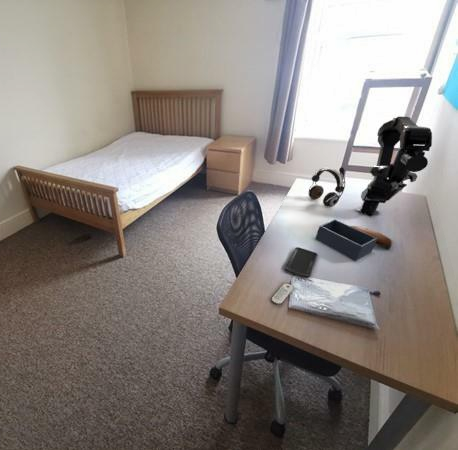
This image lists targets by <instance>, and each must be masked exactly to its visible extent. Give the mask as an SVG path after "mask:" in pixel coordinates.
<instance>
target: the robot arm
mask: <svg viewBox="0 0 458 450" xmlns="http://www.w3.org/2000/svg"><path fill="white" fill-rule="evenodd" d="M377 142H378V145H379V147H380V148H379V153H378V157H377V162H376V165H374V166H373V167H372V168H371V170H370V171H369V173H370V174H371V175H372V177H373V179H372V180H371V181H370V182H369V183H368V184H367V185H366V186H367V187H366V188H365V189H364V190H363V191H361V194H360V198H361V201H363V202H362V204H361V207H359V208H357V209H356V211H357V212H358V213H361V214H363V215H366V216H370V217H373V216H375V215H377V214H379V213H380V211H379V210H377V209H378V207H379V205H380V203H381V204H386V202H389V201H390V200H391V199H393V198H394V196H396V195H397V194H398V193H399V192H400V191H402V190H403V189H404V188H405V187H408V184H406V183H405V181H408V180H409V182H410V183H414V182H416V181H417V179H418V174H417V173H418V172H422V171H423V170H425V168H426V167H427V166H428V164H429V161H428V158H427V157H426V156H425V155H426V152H429V151H431V147H432V146H433V132H432V129H431V128H430V127H426V126H421V125H417V124H416V123H415V122H414V121H412V119H411V117H410V116H399V115H398V116H394V117H393V118H392V119H391V120H389V121H387V122H384V123H383V124H381V126H380V127H379V128H378V130H377ZM398 143H399V149H398V152H397V153H396V156H395V158H394V160H393V163H392V159H393V154H394V152H395V151H394V150H395V146H396V145H397V144H398Z"/></svg>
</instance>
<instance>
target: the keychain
mask: <svg viewBox="0 0 458 450" xmlns="http://www.w3.org/2000/svg"><path fill="white" fill-rule="evenodd" d="M293 288H294V287H293V286H292V285H291V284H289V283H283V284H282V285H281V286H280V288H278V290H277V291H276V293H275V294H274V295H273V296H272V298H271V300H272V302H273V303H274V304H277V305H281V304H282V303H283V302H284V301H285V300H286V298H287V297H288V296H289V295H290V293H291V292H292V291H293Z"/></svg>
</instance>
